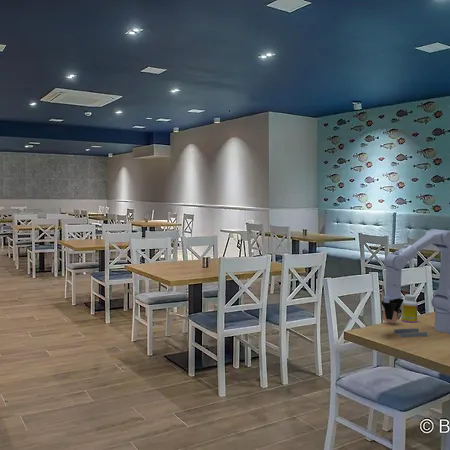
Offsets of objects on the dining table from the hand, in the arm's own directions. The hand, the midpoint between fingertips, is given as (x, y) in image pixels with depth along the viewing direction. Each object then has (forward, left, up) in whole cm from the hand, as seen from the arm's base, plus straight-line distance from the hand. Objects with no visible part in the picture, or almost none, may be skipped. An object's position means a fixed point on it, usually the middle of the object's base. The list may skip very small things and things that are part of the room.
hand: (391, 317), depth 203 cm
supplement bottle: (-21, -20, -9) cm, 30 cm away
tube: (-9, 0, -8) cm, 12 cm away
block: (-1, -1, +1) cm, 2 cm away
